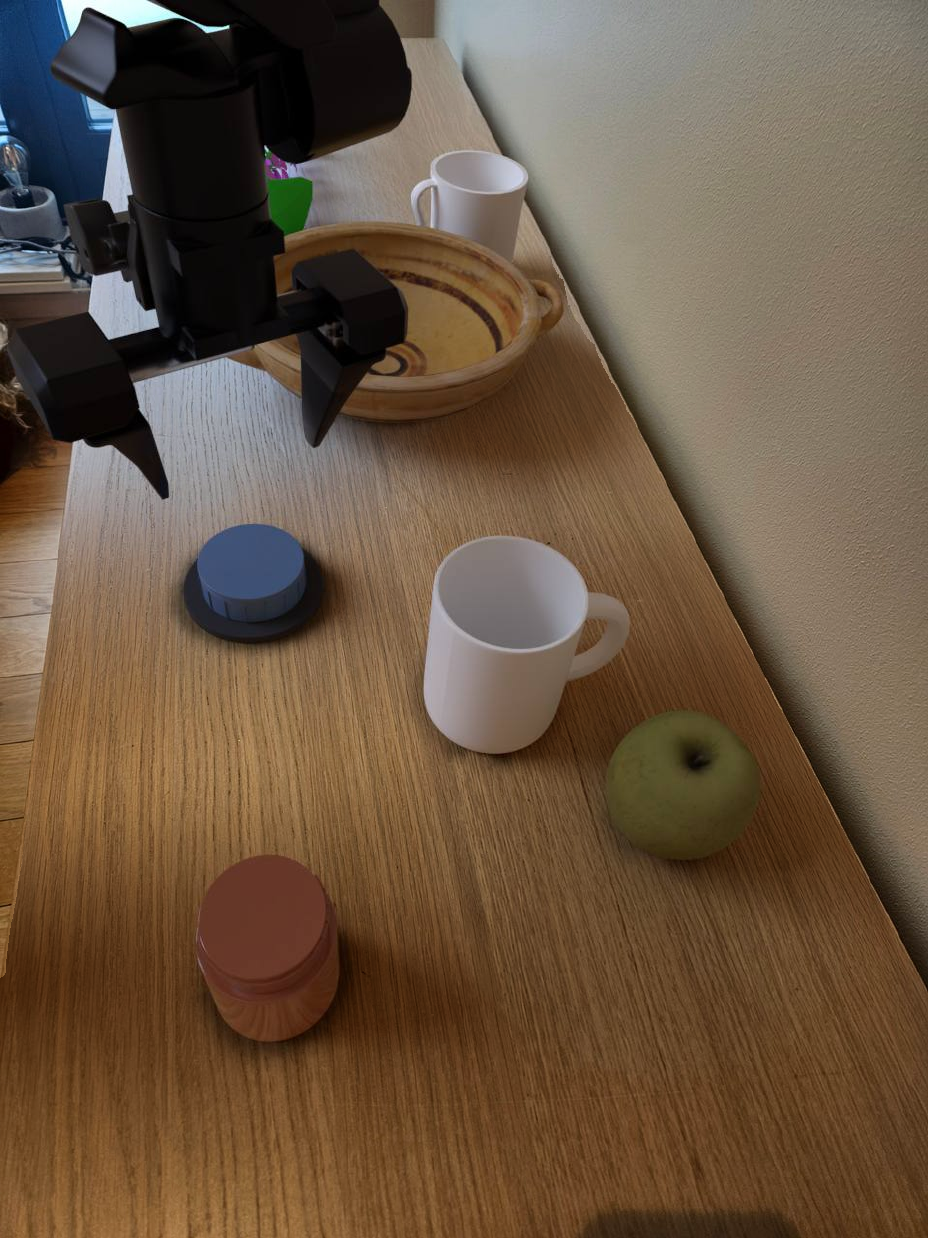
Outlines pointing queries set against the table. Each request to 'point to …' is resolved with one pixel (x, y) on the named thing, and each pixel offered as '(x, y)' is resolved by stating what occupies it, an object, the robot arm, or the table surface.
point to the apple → (682, 785)
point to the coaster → (254, 630)
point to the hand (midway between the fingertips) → (240, 467)
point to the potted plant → (287, 196)
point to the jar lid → (252, 572)
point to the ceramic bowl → (424, 320)
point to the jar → (268, 947)
